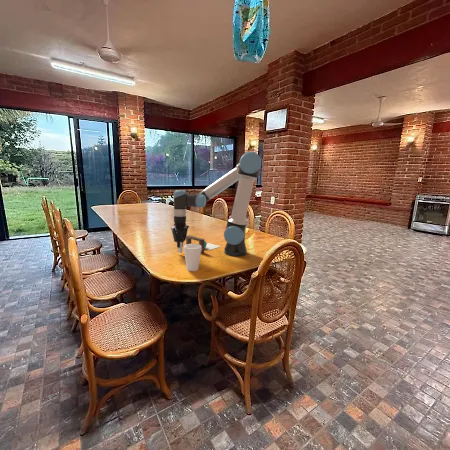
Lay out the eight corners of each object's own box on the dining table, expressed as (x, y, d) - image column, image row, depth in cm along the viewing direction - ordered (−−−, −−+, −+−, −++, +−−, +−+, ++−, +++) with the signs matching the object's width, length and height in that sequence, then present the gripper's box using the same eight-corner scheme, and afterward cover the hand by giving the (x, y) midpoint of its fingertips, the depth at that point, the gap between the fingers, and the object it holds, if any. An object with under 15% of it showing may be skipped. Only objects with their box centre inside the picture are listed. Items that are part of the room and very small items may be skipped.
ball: (202, 248, 167) (207, 249, 172) (204, 240, 168) (209, 241, 172) (196, 246, 171) (201, 248, 175) (198, 239, 171) (203, 240, 175)
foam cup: (180, 270, 131) (180, 247, 128) (188, 264, 139) (189, 242, 137) (196, 273, 128) (196, 249, 125) (204, 267, 136) (204, 245, 133)
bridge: (189, 247, 171) (189, 235, 169) (204, 252, 162) (204, 239, 160) (186, 248, 169) (186, 235, 167) (200, 253, 160) (201, 240, 158)
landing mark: (220, 246, 177) (220, 246, 177) (209, 250, 168) (209, 249, 168) (208, 243, 184) (208, 243, 184) (197, 246, 175) (197, 246, 175)
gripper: (184, 213, 158) (184, 248, 163) (167, 215, 148) (168, 253, 153) (192, 215, 153) (191, 251, 158) (175, 217, 143) (175, 255, 148)
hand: (180, 252), depth 155 cm, fingers closed
